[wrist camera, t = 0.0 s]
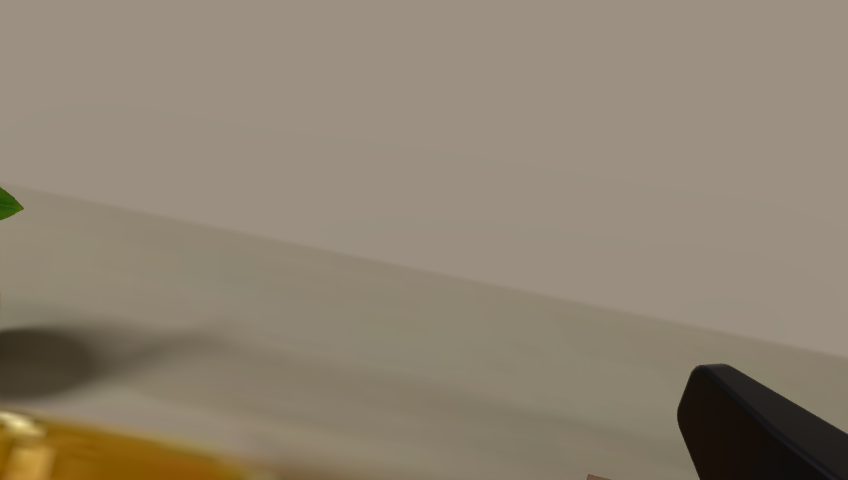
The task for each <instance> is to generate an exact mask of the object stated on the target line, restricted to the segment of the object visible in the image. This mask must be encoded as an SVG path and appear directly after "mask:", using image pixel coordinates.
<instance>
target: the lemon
mask: <svg viewBox="0 0 848 480" xmlns="http://www.w3.org/2000/svg"><path fill="white" fill-rule="evenodd" d="M23 209H24V208H23V207H22V206H21V205H20V204H19V203H18V201H17V200H16V199H15V198H14V197H13V196H11V195H10V194H9V193H8V192H6V191H5V190H3V189H2V188H0V220H3V219H5V218H8V217H10V216H12V215H14V214H15V213H17V212H19V211H21V210H23Z"/></svg>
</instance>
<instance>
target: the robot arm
mask: <svg viewBox="0 0 848 480" xmlns="http://www.w3.org/2000/svg"><path fill="white" fill-rule="evenodd" d="M677 420H678V425H679V428H680V431H681V433H682V436H683V438H684V441H685V443H686V446H687V448H688V451H689V453H690V456H691V458H692V461H693V463H694V466H695V468H696V471H697V473H698V476H699V478H700V480H848V434H847V433H845V432H843V431H842V430H840V429H838V428H836V427H835V426H833V425H831V424H829V423H828V422H826V421H824V420H823V419H821V418H819V417H817V416H816V415H814V414H812V413H811V412H809V411H807V410H805V409H804V408H802V407H800V406H799V405H797V404H795V403H793V402H792V401H790V400H788V399H787V398H785V397H783V396H781V395H780V394H778V393H776V392H774V391H773V390H771V389H769V388H768V387H766V386H764V385H762V384H761V383H759V382H757V381H756V380H754V379H752V378H750V377H749V376H747V375H745V374H744V373H742V372H740V371H738V370H737V369H735V368H733V367H731V366H729V365H727V364H708V365H699V366H697V367H696V368H695V369H693V370H692V372H691V374H690V377H689V380H688V382H687V385H686V388H685V390H684V393H683V395H682V398H681V401H680V403H679V406H678V410H677Z"/></svg>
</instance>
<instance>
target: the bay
mask: <svg viewBox="0 0 848 480" xmlns="http://www.w3.org/2000/svg"><path fill="white" fill-rule="evenodd" d="M587 480H609V479H606V478H602V477H598V476H594V475H590V474H588V477H587Z"/></svg>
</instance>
